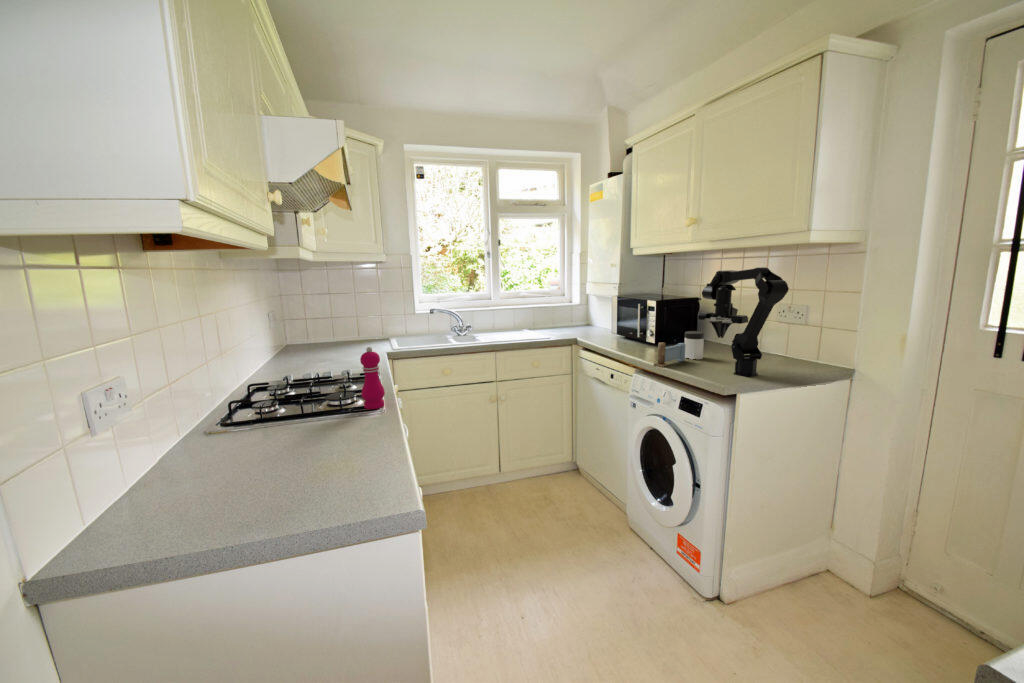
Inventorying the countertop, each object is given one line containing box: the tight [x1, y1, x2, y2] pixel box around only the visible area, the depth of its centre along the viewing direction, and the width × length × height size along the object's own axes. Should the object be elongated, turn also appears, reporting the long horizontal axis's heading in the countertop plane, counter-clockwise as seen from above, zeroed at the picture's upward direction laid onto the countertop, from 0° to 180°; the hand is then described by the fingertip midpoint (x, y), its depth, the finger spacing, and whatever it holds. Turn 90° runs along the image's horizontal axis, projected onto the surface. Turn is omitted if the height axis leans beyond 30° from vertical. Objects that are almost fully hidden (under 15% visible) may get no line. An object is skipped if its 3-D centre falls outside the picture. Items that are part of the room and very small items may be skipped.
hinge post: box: [653, 342, 670, 368], centre depth 179 cm, size 4×4×10 cm
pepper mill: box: [360, 346, 386, 410], centre depth 135 cm, size 7×7×20 cm
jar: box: [684, 330, 705, 360], centre depth 192 cm, size 9×8×12 cm
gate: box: [665, 342, 686, 363], centre depth 184 cm, size 13×2×8 cm, turn 123°
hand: (720, 337), depth 175 cm, fingers closed
